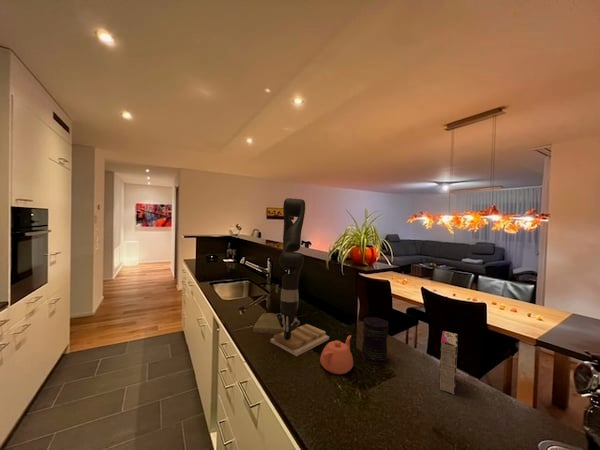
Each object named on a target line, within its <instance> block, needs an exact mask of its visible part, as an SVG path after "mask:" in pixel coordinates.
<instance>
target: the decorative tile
mask: <svg viewBox="0 0 600 450" xmlns="http://www.w3.org/2000/svg"><path fill="white" fill-rule="evenodd" d="M280 313H281V312H279V313H273V312H263V313H262V314H261V316H260V317H259V318H258V320H257V321H256V323H255V324H254V326H253V328H252V331H253V333H261V334H270V335H271V334H272V335H273V334H274V335H277V334H280V333H283V332H284V329H283V328H281V326H280V323H279V321H278V318H277V314H280ZM282 324H283V322H282ZM289 328H290V327H289Z"/></svg>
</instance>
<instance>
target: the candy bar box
mask: <svg viewBox="0 0 600 450" xmlns="http://www.w3.org/2000/svg"><path fill="white" fill-rule="evenodd" d="M458 339H459V338H458V334H457V333H455V332H450V331H446V330H443V331H442V334H441V340H440V353H439V355H440V357H439V360H440V361H439V379H438V381H439V382H438V384H439V385H438V390H439V391H442V392H445V393H449V394H452V395H456V387H457V386H456V384H457V382H456V381H457V366H458V365H457V361H458Z"/></svg>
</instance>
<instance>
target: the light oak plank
mask: <svg viewBox="0 0 600 450" xmlns="http://www.w3.org/2000/svg"><path fill="white" fill-rule="evenodd" d="M297 328H299V329H302V330H304V331H306V332H308V333H311V334H313V335H315V336H317V337H316V339H318V338H320V337H322V336H324V335H327V334H326V333H327V332H326V331H325V330H322V329H320V328H317V327H316V326H313V325H311V324H308V323H305V324H303V325H299V326H298V327H297Z"/></svg>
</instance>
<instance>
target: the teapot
mask: <svg viewBox="0 0 600 450" xmlns="http://www.w3.org/2000/svg"><path fill="white" fill-rule="evenodd" d="M351 338H352V335H351V334H349V335H348V336H347V338H346V340H345V343H344V342H342V341H340V340H332V341H330V342H328V343H327V344H326V345H325V346H324V348H323V349H322V351H321V354H320V358H319V359H320V360H319V361H320V364H321V366H322V367H323V368H324V370H326V371H327V372H329V373H331V374H334V375H345V374H347V373H349V372H350V371H351V370H352V368H353V367H354V358H353V357H354V356H353V355H352V352H351V341H350V340H351Z"/></svg>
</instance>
